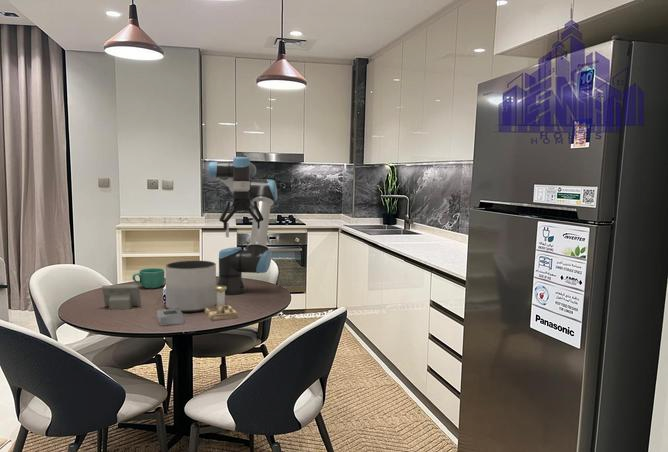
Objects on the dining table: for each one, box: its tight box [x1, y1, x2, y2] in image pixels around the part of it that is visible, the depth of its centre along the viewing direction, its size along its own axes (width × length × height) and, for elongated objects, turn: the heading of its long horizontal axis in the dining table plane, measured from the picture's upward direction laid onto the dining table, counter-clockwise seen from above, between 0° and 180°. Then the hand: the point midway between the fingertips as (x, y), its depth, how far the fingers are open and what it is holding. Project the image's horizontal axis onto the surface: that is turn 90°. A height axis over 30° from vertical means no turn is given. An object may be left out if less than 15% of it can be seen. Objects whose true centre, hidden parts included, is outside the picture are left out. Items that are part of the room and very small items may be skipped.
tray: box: [204, 304, 238, 322], centre depth 211 cm, size 14×11×2 cm
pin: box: [215, 285, 227, 314], centre depth 211 cm, size 5×5×12 cm
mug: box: [132, 267, 165, 290], centre depth 263 cm, size 17×12×10 cm
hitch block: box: [156, 308, 185, 327], centre depth 202 cm, size 12×9×4 cm
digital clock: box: [101, 284, 142, 310], centre depth 222 cm, size 16×9×11 cm, turn 86°
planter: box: [165, 260, 217, 313], centre depth 224 cm, size 23×23×20 cm
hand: (241, 236), depth 225 cm, fingers open, 13 cm apart
